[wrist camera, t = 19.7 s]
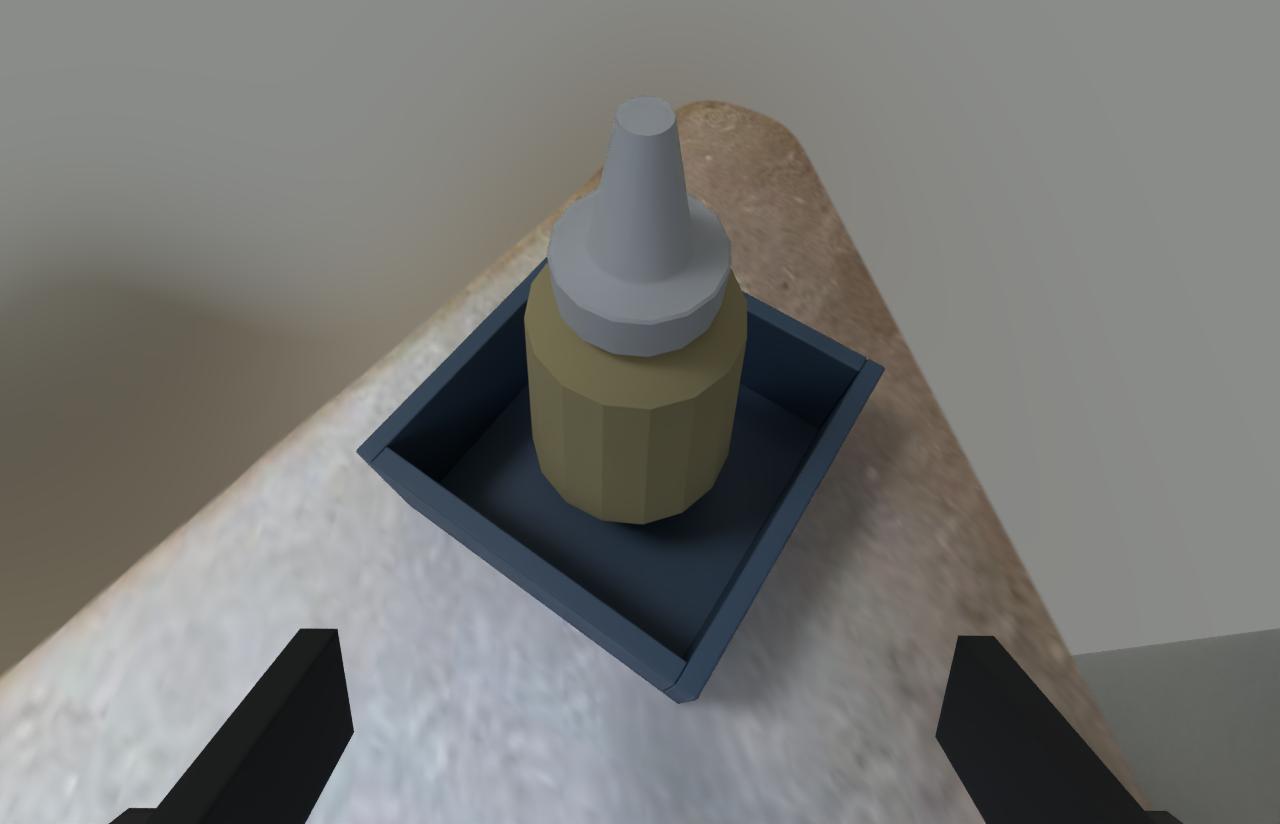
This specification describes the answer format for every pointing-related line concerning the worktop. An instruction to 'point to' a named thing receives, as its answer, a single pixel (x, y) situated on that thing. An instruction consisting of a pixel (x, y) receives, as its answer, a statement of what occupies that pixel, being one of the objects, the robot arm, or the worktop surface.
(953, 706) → the robot arm
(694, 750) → the worktop surface
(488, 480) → the bin
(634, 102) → the squeeze bottle
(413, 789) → the worktop surface
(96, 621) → the worktop surface
